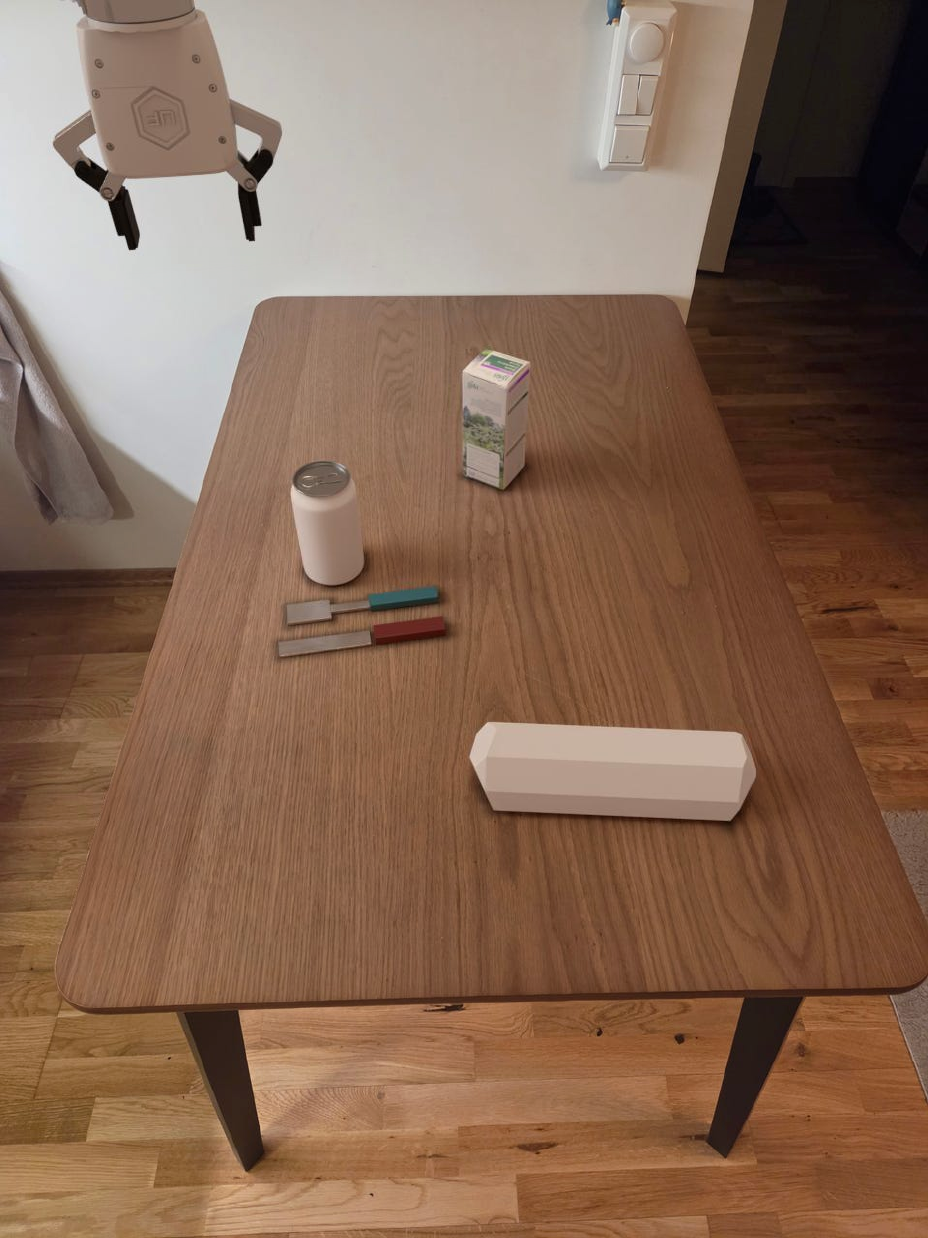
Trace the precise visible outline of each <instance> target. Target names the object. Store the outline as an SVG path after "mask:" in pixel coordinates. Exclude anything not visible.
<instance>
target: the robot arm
mask: <svg viewBox="0 0 928 1238" xmlns="http://www.w3.org/2000/svg"><path fill="white" fill-rule="evenodd" d="M60 1H61V2H63V1H64V0H60ZM70 1H71V2H72V3H74V4H75V3H76V4H77V5H78V7H79V8H81V10H82V14H83V15H84V16H83V17H82V18H80V19H79V21H78V22H77V23H76V35H77V45H78V51H79V59H80V66H81V70H82V76H83V81H84V86H85V91H86V95H87V101H88V106H89V110H87V111H86V112H84V113H83V114H82V115H80V116H79V117H78V118H76V119H75V120H73V121H72V122H71V123H69V124H68V125H66V126H65V127H64V128H62V129H61V130H60V131H59V132H56V134H55V135H54V137H53V141H52V147H53V148H54V150H55V151H56V152H57V153H58V155H59V156H60V157H61V158H62V159H63V160H64V162H65V163H66V164H67V165H68V166H69V167H70V168H71V169H72V170H73V172H74V174H75V176H76V177H77V178H78V179H79V180H81V181H82V182H83V183H85V184H86V185H88V186H89V187H90V188H92V189H93V190H95V191H96V192H97V193H98V194H99V195H100V197H101V199H103V200H104V201H105V202H106V201H107V204H108V205H107V206H108V208H109V211H110V215H111V218H112V221H113V225H114V228H115V232H116V235H117V236H118V237H124V239H125V243H126V246H127V249H128V251H136V250H137V249H139V243H140V237H141V233H140V228H139V224H138V220H137V217H136V213H135V210H134V206H133V203H132V200H131V195H130V191H129V189H128V188H126V186H125V185H123V184H124V182H125V181H126V179H129V180H138V179H139V180H140V179H141V180H142V179H157V178H159V179H160V178H161V179H162V178H173V177H174V178H176V177H190V176H192V177H193V176H204V175H205V176H206V175H216V174H221V173H225V172H226V173H227V174H228V175H229V176H231V178H232V179H233V180H235V181H236V182H237V195H238V196H237V198H238V202H239V209H240V213H241V219H242V225H243V230H244V235H245V240H246V241H248V242H256V230H255V229H256V227H262V225H263V224H262V216H261V211H260V210H261V209H260V205H259V198H258V191H257V189H258V186H259V184H260V182H261V181H262V180H263V179H264V177H265V175H267V173H268V171H269V170H270V169H271V167H272V166H273V164H274V160H275V157H276V154H277V152H278V148H279V145H280V142H281V140H282V136H283V129H282V124H281V123H280V121H278V120H276V119H274V118H272V117H270V116H268V115H265V114H263V113H261V112H259V111H256V110H255V109H252V108H250V107H249V106H247V105H244V104H242V103H240V102H238V101H236V100H234V99H232V98H230V93H229V90H228V84H227V81H226V77H225V73H224V72H225V71H224V68H223V65H222V61H221V58H220V54H219V51H218V48H217V44H216V40H215V37H214V35H213V32H212V29H211V26H210V24H209V20H208V18H207V16H206V13H205V12H204V11H202V10H200V9H197V8H196V6H195V0H70ZM236 126H238V127H241V128H243V129H245V130H247V131H249V132H251V133H254V134H256V135H258V136H260V138H261V140H260V143H259V147H258V149H256V151H255V152H254V154H253V155H252V157H251V158H249V159H248V158H247V157H246V156H245V155H244V154H243V153H242V152H241V151H240V150H239V149H238V140H237V139H238V138H237V128H236ZM95 134H96V140H97V143H98V148H99V152H100V154H101V158H102V161H103V163H104V165H105V168H106V169H104V168H103V167H102V166H100V165H99V164H98V163H96V162H95V161H94V160H93V159H91V158H90V157H88V156H86V155H85V153H84V151H83V150H82V148H81V147H80V145H81V144H83V143H85V142H86V141H87V140H89V138H91V137H93V136H94V135H95Z"/></svg>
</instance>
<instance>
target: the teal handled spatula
mask: <svg viewBox="0 0 928 1238" xmlns="http://www.w3.org/2000/svg"><path fill="white" fill-rule="evenodd" d="M437 603H439V594H438V590H437V586H436V585H434V586H425V587H416V588H409V589H401V590H394V591H386V592H377V593H370V594H368V599H366V600H358V601H351V602H343V603H335V604H331V600H330V598H329V599H322V600H314V601H313V600H312V601H306V602H298V603H291V604H286V615H287V616H286V617H287V626H294V625H295V626H296V625H305V624H310V623H312V624H313V623H318V622H326V621H332V620H333V617H332V615H336V614H344V613H351V612H352V613H353V612H360V611H366V610H367V611H368V610H370V612H375V611H376V612H377V611H384V610H390V609H398V608H406V607H414V606H421V605H422V606H423V605H430V604H437Z"/></svg>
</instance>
